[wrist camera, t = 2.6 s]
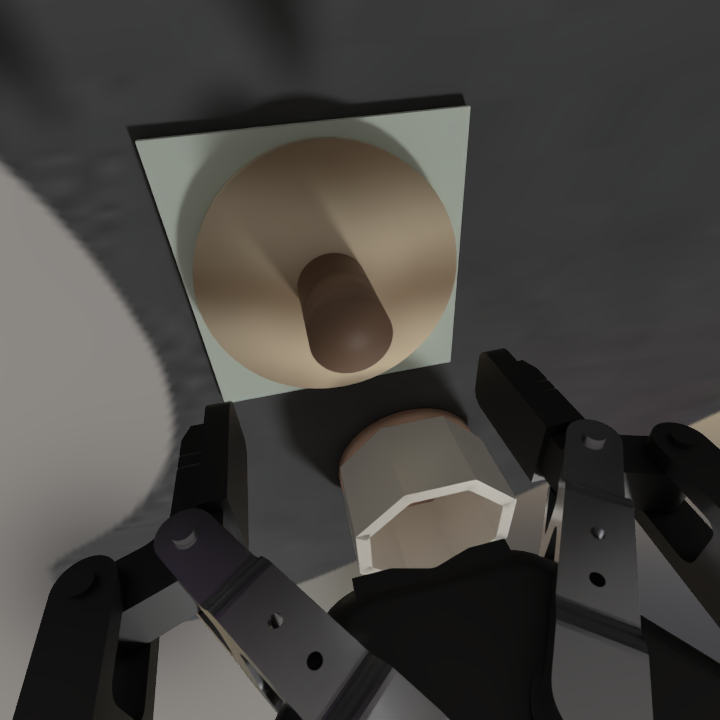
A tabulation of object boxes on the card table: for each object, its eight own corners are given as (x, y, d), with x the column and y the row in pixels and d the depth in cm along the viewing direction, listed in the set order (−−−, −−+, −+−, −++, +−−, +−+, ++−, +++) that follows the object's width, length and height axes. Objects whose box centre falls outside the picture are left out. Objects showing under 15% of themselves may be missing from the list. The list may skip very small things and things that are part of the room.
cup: (331, 425, 27) (349, 506, 22) (479, 395, 28) (527, 467, 23) (344, 516, 32) (361, 596, 28) (466, 488, 34) (502, 560, 29)
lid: (153, 154, 16) (119, 193, 12) (457, 121, 18) (527, 145, 13) (231, 394, 23) (228, 474, 19) (442, 356, 25) (484, 422, 20)
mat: (137, 139, 16) (134, 141, 16) (466, 105, 18) (470, 106, 17) (225, 398, 24) (224, 403, 23) (447, 357, 25) (450, 361, 25)
